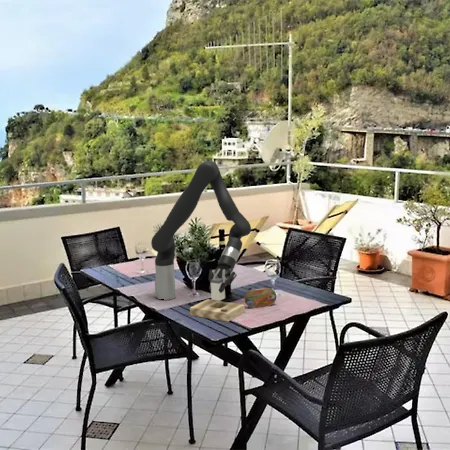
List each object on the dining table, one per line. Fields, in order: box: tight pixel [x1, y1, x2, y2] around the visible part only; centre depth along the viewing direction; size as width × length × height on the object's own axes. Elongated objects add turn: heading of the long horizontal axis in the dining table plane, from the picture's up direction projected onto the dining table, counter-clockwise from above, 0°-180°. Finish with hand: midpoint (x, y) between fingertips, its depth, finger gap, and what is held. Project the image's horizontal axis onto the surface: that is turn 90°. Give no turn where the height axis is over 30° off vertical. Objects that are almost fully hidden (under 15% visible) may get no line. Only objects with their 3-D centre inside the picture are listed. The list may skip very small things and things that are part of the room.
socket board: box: [189, 299, 246, 322], centre depth 251 cm, size 20×14×4 cm
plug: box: [210, 277, 226, 301], centre depth 251 cm, size 4×4×9 cm
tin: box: [243, 287, 277, 309], centre depth 260 cm, size 15×3×8 cm, turn 106°
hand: (215, 291), depth 249 cm, fingers closed on plug, 4 cm apart
